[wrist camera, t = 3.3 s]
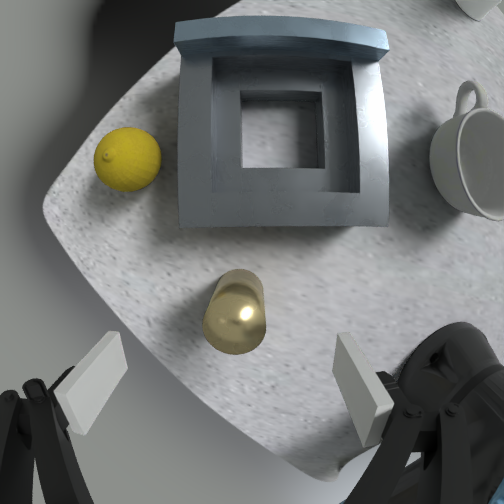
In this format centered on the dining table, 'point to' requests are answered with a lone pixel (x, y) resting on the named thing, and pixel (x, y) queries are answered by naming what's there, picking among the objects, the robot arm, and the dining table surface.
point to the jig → (281, 89)
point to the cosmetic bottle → (477, 7)
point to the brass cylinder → (236, 313)
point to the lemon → (127, 159)
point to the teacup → (471, 156)
